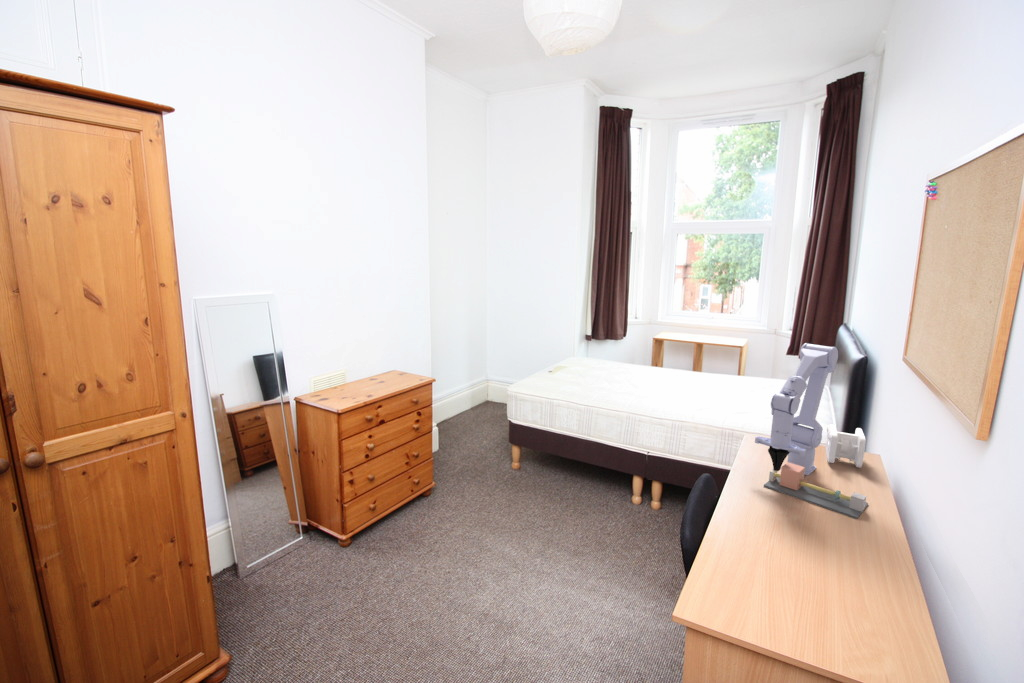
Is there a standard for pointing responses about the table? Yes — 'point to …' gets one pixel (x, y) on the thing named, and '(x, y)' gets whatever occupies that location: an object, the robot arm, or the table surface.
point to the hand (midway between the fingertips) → (776, 469)
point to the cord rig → (821, 496)
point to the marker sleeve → (792, 475)
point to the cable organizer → (845, 445)
